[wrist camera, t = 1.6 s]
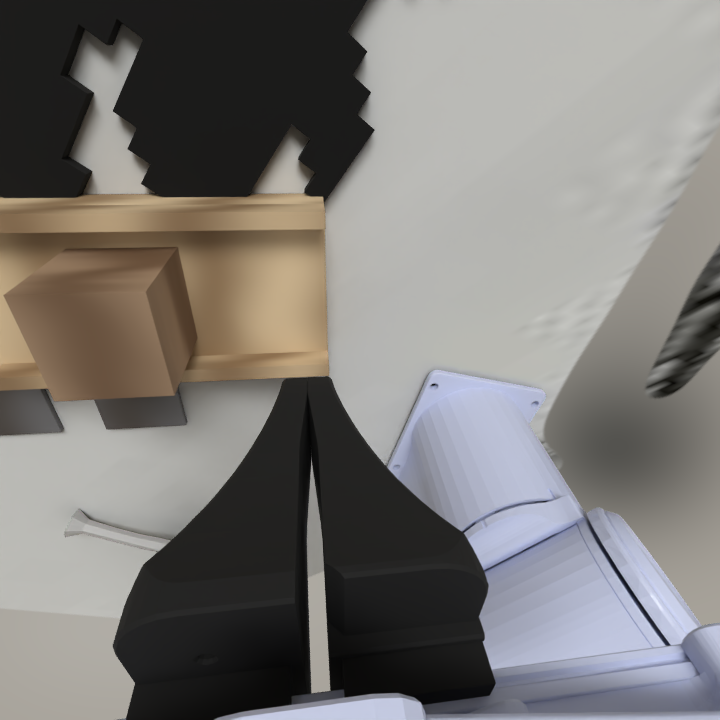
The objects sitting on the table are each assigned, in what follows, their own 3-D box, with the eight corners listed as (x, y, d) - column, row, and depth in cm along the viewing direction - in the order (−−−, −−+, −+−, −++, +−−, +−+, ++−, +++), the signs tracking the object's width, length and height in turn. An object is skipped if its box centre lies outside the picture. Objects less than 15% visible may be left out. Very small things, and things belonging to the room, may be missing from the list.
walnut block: (177, 246, 18) (145, 291, 15) (197, 337, 21) (174, 395, 17) (65, 248, 18) (3, 295, 14) (99, 341, 20) (54, 401, 17)
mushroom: (45, 539, 25) (243, 595, 27) (92, 469, 28) (264, 525, 31) (52, 574, 30) (221, 620, 32) (92, 510, 33) (242, 556, 35)
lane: (322, 193, 20) (326, 221, 16) (328, 413, 27) (332, 466, 23) (-227, 195, 17) (-363, 228, 14) (-58, 434, 25) (-119, 496, 21)
